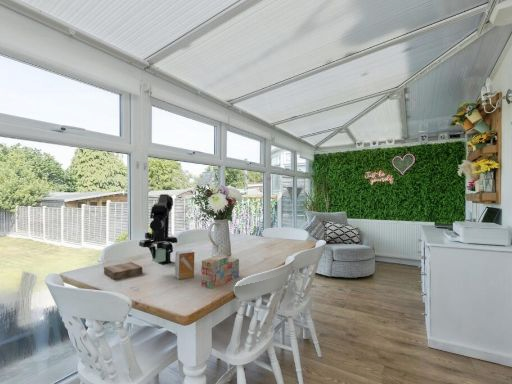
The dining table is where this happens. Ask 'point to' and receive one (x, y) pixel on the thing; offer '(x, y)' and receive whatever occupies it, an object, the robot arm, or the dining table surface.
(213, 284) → the stack of blocks
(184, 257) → the small box
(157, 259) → the green cube
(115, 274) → the walnut base
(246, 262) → the dining table surface
